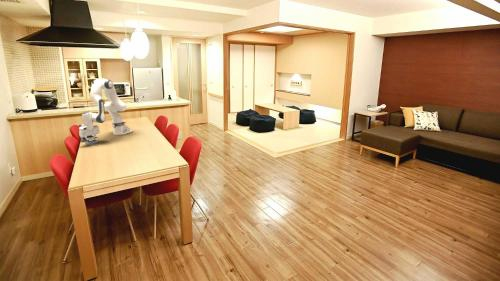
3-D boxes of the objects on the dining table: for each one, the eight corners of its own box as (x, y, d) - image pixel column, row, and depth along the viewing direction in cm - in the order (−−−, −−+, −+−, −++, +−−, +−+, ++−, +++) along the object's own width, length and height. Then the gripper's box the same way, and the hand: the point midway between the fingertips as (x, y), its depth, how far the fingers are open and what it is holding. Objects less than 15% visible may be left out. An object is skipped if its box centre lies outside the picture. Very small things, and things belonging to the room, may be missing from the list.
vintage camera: (92, 143, 295) (90, 125, 289) (80, 141, 298) (78, 124, 292) (99, 140, 304) (96, 123, 298) (87, 139, 307) (84, 122, 301)
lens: (92, 142, 293) (91, 135, 290) (95, 142, 290) (94, 135, 288) (88, 143, 288) (86, 136, 286) (90, 144, 286) (89, 137, 284)
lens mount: (93, 142, 295) (92, 138, 294) (98, 143, 291) (97, 140, 290) (85, 144, 288) (84, 141, 287) (90, 145, 284) (89, 142, 282)
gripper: (96, 124, 294) (98, 136, 298) (77, 128, 277) (79, 141, 281) (99, 125, 291) (102, 137, 295) (80, 129, 274) (83, 142, 278)
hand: (91, 139), depth 288 cm, fingers open, 6 cm apart
